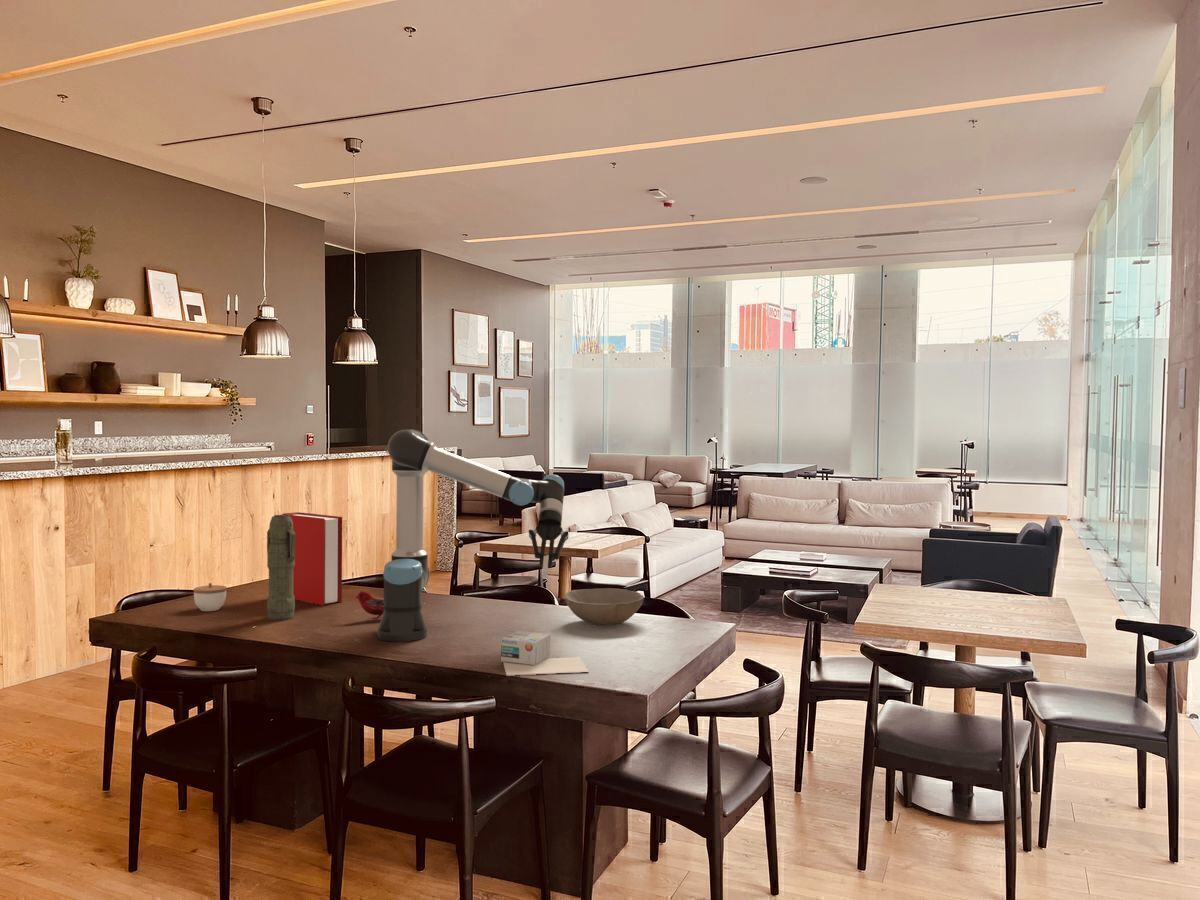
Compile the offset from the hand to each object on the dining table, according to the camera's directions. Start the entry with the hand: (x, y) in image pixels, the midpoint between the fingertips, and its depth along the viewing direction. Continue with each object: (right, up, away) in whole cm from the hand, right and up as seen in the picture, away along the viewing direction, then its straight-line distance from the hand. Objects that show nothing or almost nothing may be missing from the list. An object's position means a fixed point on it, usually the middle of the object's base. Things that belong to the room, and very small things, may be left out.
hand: (544, 575), depth 268 cm
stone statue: (-92, -19, +32) cm, 100 cm away
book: (-93, -19, +65) cm, 115 cm away
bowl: (+18, -21, +29) cm, 40 cm away
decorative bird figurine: (-58, -20, +32) cm, 68 cm away
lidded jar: (-122, -19, +44) cm, 131 cm away
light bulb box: (-2, -17, -15) cm, 23 cm away
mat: (+2, -21, -26) cm, 34 cm away
